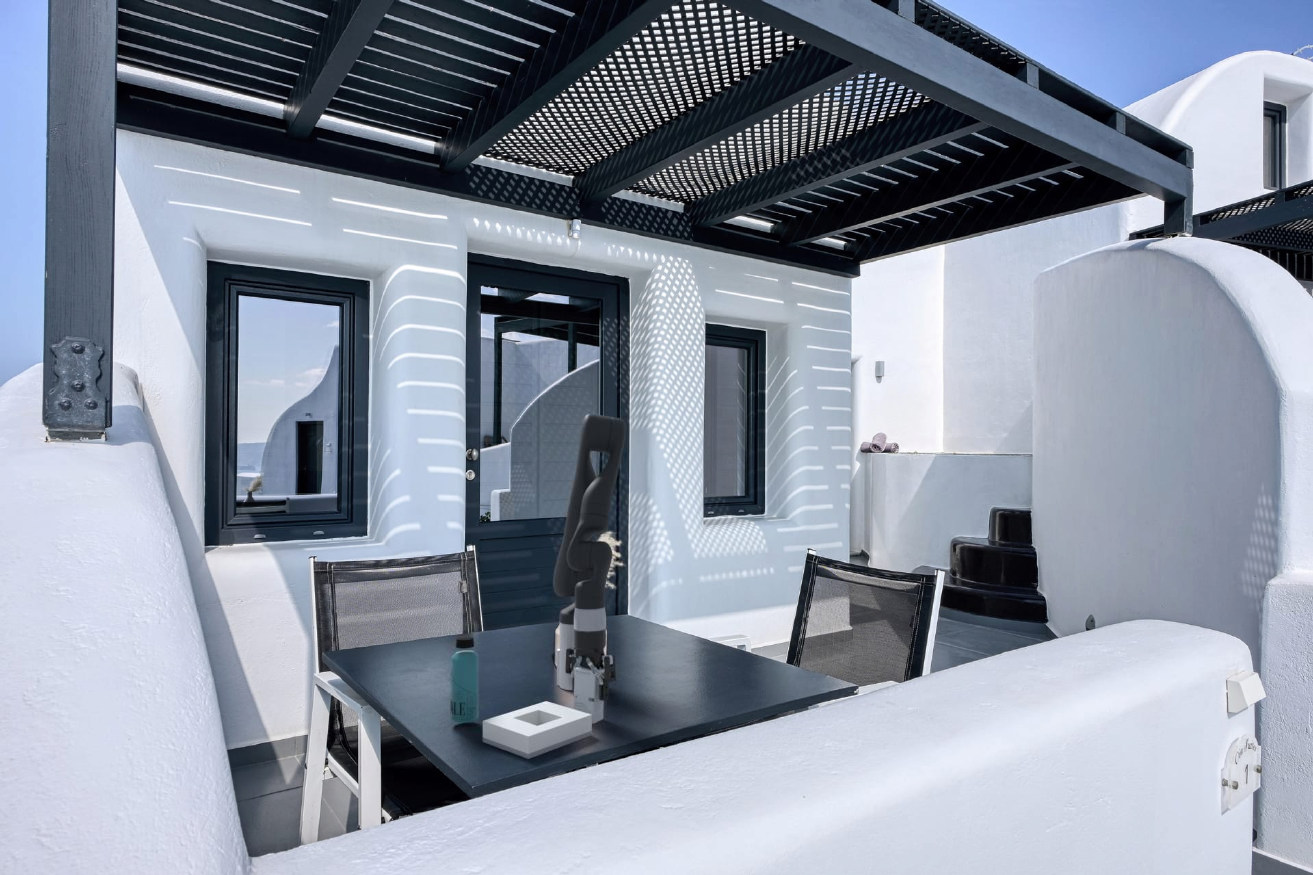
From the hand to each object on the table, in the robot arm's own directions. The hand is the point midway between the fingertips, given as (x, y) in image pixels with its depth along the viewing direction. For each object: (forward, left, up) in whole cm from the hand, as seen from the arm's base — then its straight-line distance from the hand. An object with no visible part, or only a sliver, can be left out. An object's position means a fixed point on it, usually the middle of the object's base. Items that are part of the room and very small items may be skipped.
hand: (590, 696), depth 184 cm
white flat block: (0, -16, -5) cm, 17 cm away
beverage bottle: (-19, -21, -6) cm, 29 cm away
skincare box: (0, 0, -6) cm, 6 cm away
